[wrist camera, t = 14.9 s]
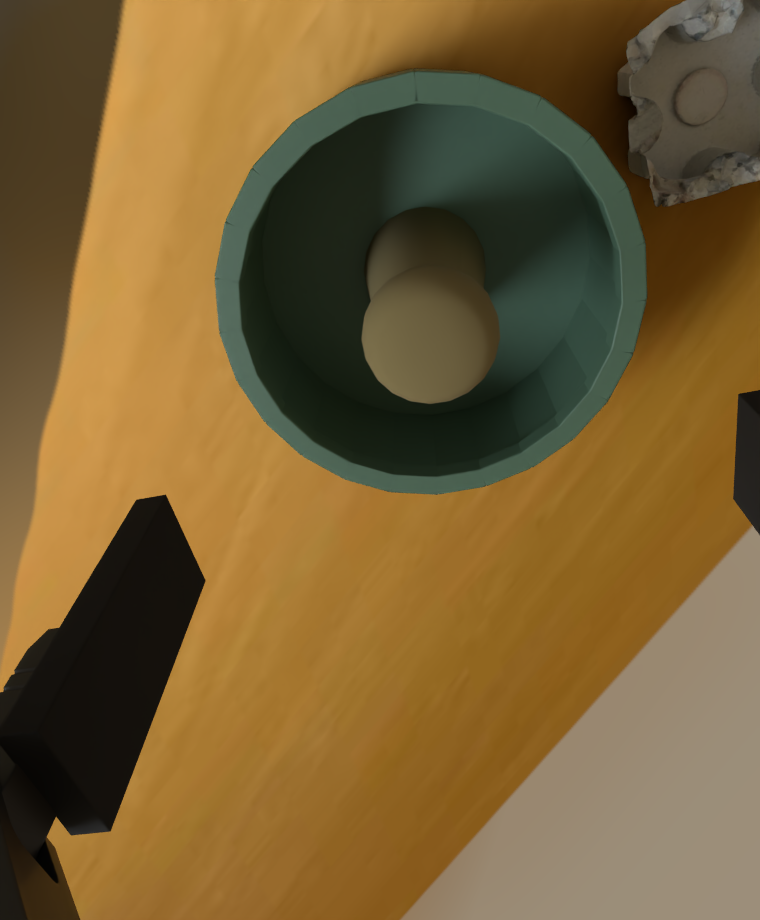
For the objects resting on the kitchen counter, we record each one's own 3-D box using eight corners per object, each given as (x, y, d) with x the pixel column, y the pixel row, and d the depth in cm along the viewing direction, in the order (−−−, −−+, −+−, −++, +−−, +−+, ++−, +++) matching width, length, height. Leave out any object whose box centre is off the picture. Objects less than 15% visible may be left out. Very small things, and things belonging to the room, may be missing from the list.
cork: (411, 350, 36) (413, 455, 26) (339, 258, 34) (312, 336, 24) (509, 282, 34) (549, 368, 24) (439, 179, 32) (454, 230, 22)
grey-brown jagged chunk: (622, 200, 33) (648, 218, 29) (605, 21, 29) (632, 16, 25) (864, 135, 31) (922, 145, 27) (878, -65, 27) (947, -84, 24)
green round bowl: (205, 121, 31) (149, 138, 24) (584, 23, 29) (640, 12, 22) (306, 440, 40) (286, 520, 33) (606, 385, 37) (652, 459, 30)
